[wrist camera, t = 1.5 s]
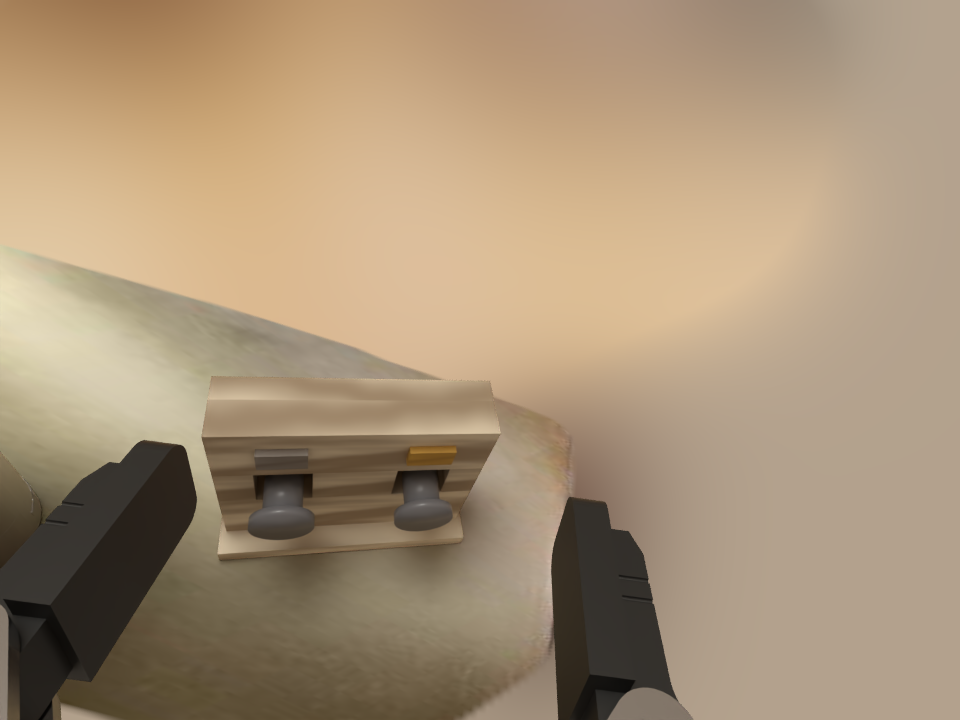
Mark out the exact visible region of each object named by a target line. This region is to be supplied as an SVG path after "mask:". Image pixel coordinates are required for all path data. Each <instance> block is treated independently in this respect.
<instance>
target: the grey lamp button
mask: <svg viewBox="0 0 960 720" xmlns="http://www.w3.org/2000/svg"><path fill="white" fill-rule="evenodd" d="M303 491H304V475H303V474H283V475H266V476H265V479H264V492H263V504H262V509H260V510H257V511H255V512H254V513H252V514H251V515H250V516H249V520H248V532H249V533H250V534H251V535H252V536H254V537H257V538H261V539H266V540H287V539H294V538H298V537H301V536H304V535H306V534H308V533H310V532H311V531H312V530H313V529H314V523H315V516H314V513H313V512H312V511H310V510H309V509H306V508H303Z"/></svg>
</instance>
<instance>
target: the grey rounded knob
mask: <svg viewBox="0 0 960 720" xmlns="http://www.w3.org/2000/svg"><path fill="white" fill-rule="evenodd" d="M402 485H403V497H404V504H403V505H401V506H399V507H398V508H397V509H396V510H395V511H394V524H395V526H396V527H397V528H398V529H401V530H405V531H426V530H431V529H435V528H439V527H441V526H444V525H445V524H447V523H449V522H450V521H451V520H452V518H453V512H452V506H451V504H450V503H449V502H447V501H445V500H441V499H440V496H439V488H438V480H437V471H436V470H412V471H404V472H403V473H402Z"/></svg>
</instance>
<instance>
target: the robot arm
mask: <svg viewBox="0 0 960 720" xmlns="http://www.w3.org/2000/svg"><path fill="white" fill-rule="evenodd" d="M196 503H197V496H196V491H195V486H194V482H193V478H192V473H191V469H190V465H189V461H188V456H187V452H186V450H185V448H184V447H183V446H182V445H177V444H169V443H162V442H155V441H147V440H143V441H140V442H139V443H137V444H136V445H135V446H134V447H133V448H132V449H131V450H130V452H129V453H128V454H127V455H126V456H125V457H124V459H123V460H122V461H121V462H120V463H112V462H109V463H107V464H106V465H104V466H102V467H101V468H99V469H98V470H96V471H95V472H93V473H91V474H90V475H88V476H87V477H85V478H84V479H82V480H81V481H80V482H79V483H78V484H77V486H76V487H75V488H74V489H73V490H72V491H71V492H70V493H69V494H68V495H67V497H66V498H65V499H64V500H63V501H62V505H61V506H57V508H56V509H55V510H54V511H53V512H52V513H51V514H50V515H49V516H48V517H47V519H46V522H45V524H41V525H40V526H39V524H40V521H41V506H40V501H39V499H38V497H37V496H36V494H35V492H34V491H33V490H32V488H31V487H30V486H29V484H28V483H27V482H26V480H25V479H24V478H23V477H21V475H20V474H19V473H18V472H17V470H16V469H15V468H14V467H13V466H12V465H11V463H10V462H9V461H8V460H7V459H6V457H5V456H4V455H3V454H2V453H1V452H0V720H61V707H60V699H59V697H58V695H57V692H58V690H59V689H60V687H61V686H62V684H63V683H64V681H65V680H66V679H72V680H80V681H88V682H91V681H92V680H93V678H94V676H95V675H96V673H97V672H98V670H99V668H100V667H101V665H102V664H103V662H104V660H105V659H106V657H107V656H108V654H109V652H110V651H111V649H112V648H113V646H114V645H115V643H116V641H117V640H118V638H119V637H120V635H121V633H122V632H123V630H124V629H125V627H126V625H127V624H128V622H129V621H130V619H131V618H132V616H133V614H134V613H135V611H136V610H137V608H138V606H139V605H140V603H141V602H142V600H143V598H144V597H145V595H146V594H147V592H148V591H149V589H150V587H151V586H152V584H153V583H154V581H155V579H156V578H157V576H158V575H159V573H160V571H161V570H162V568H163V567H164V565H165V563H166V562H167V560H168V559H169V557H170V556H171V554H172V552H173V551H174V549H175V548H176V546H177V544H178V543H179V541H180V540H181V538H182V536H183V535H184V533H185V532H186V530H187V529H188V527H189V525H190V523H191V521H192V519H193V516H194V513H195V509H196ZM551 576H552V597H553V618H554V639H555V660H556V679H557V680H556V681H557V700H558V701H557V702H558V720H693V718H692V717H691V715H690V714H689V713H688V711H687V710H686V709H685V708H684V707H683V706H682V705H681V704H680V703H679V702H678V700H677V698H676V696H675V694H674V691H673V689H672V685H671V682H670V677H669V673H668V668H667V663H666V659H665V654H664V649H663V645H662V640H661V635H660V630H659V626H658V621H657V617H656V612H655V607H654V604H652V600H653V598H652V593H651V588H650V584H648V574H647V570H646V565H645V561H644V555H643V553H642V551H641V550H640V548H639V547H638V545H637V544H636V542H635V541H634V539H633V538H632V536H631V534H630V533H629V532H628V531H622V530H615V529H611V526H610V519H609V514H608V508H607V505H606V503H605V502H603V501H595V500H588V499H581V498H574V497H569V498H568V500H567V503H566V506H565V510H564V513H563V516H562V519H561V523H560V526H559V529H558V532H557V536H556V539H555V542H554V547H553V553H552V564H551Z"/></svg>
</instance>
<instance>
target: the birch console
mask: <svg viewBox="0 0 960 720" xmlns="http://www.w3.org/2000/svg"><path fill="white" fill-rule="evenodd" d="M500 434H501V432H500V427H499V422H498V418H497V413H496V408H495V403H494V398H493V393H492V388H491V383H490V381H462V380H404V379H344V378H284V377H224V376H211V381H210V388H209V394H208V400H207V406H206V412H205V419H204V425H203V431H202V441H203V445H204V448H205V452H206V456H207V460H208V464H209V467H210V471H211V475H212V479H213V482H214V486H215V490H216V494H217V498H218V501H219V505H220V509H221V513H222V522H221V530H220V538H219V546H218V557H219V560H228V559H242V558H256V557H270V556H284V555H298V554H312V553H327V552H341V551H355V550H369V549H383V548H397V547H411V546H425V545H439V544H453V543H460V542H461V541H462V539H463V531H462V524H461V517H460V509H461V507H462V505H463V504H464V502H465V500H466V498H467V496H468V494H469V492H470V490H471V489H472V487H473V485H474V483H475V481H476V479H477V477H478V475H479V473H480V472H481V470H482V468H483V466H484V464H485V462H486V460H487V458H488V457H489V455H490V453H491V451H492V449H493V447H494V445H495V443H496V442H497V440H498V438H499V436H500ZM412 470H436V471H437V480H438V488H439V496H440V499H441V500H445V501H447V502H449V503H450V504H451V506H452V512H453V518H452V520H451V521H450V522H449V523H447V524H445V525H444V526H441V527H439V528H435V529H431V530H426V531H405V530H401V529H398V528H397V527H396V526H395V524H394V511H395V510H396V509H397V508H398V507H399V506H401V505H403V504H404V497H403V485H402V473H403V472H404V471H412ZM283 474H303V475H304V491H303V508H306V509H309V510H310V511H312V512H313V513H314V516H315V523H314V529H313V530H312V531H311V532H310V533H308V534H306V535H304V536H301V537H298V538H294V539H287V540H266V539H261V538H257V537H254V536H252V535H251V534H250V533H249V532H248V520H249V516H250V515H251V514H252V513H254V512H255V511H257V510H260V509H262V504H263V492H264V479H265V476H266V475H283Z"/></svg>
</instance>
